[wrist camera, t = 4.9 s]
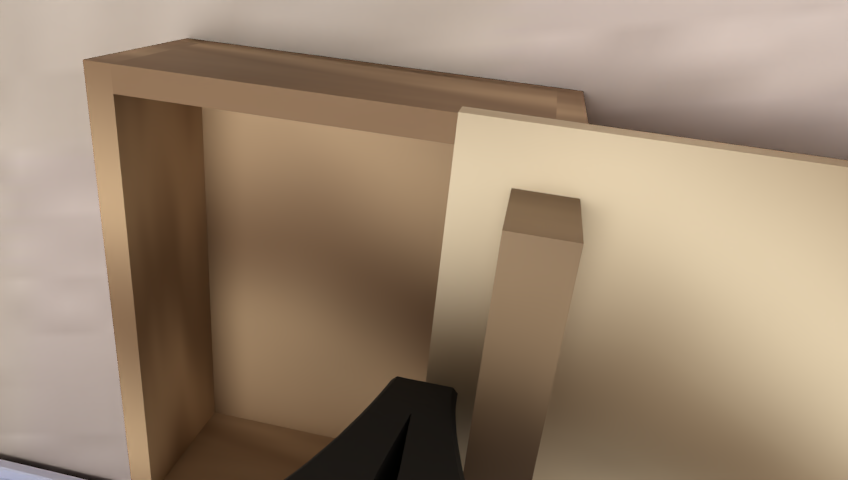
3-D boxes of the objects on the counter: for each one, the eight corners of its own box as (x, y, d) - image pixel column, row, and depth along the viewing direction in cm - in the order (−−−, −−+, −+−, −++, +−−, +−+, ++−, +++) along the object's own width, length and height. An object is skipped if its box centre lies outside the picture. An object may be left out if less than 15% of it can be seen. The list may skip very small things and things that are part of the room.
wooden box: (506, 478, 20) (494, 592, 17) (205, 413, 21) (133, 504, 18) (582, 90, 15) (589, 131, 12) (186, 38, 17) (82, 59, 13)
